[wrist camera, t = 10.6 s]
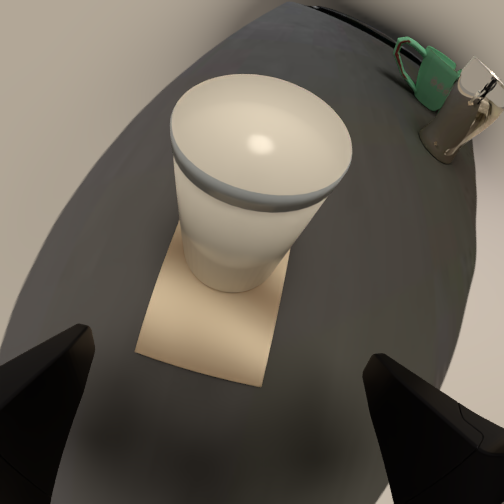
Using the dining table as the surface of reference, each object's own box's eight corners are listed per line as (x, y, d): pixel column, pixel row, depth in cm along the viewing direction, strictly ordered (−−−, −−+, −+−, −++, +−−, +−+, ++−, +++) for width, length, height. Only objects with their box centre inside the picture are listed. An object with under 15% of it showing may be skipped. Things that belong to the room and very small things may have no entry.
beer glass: (457, 174, 28) (523, 107, 14) (422, 153, 27) (489, 71, 14) (445, 141, 31) (499, 77, 17) (411, 121, 30) (464, 46, 17)
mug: (442, 105, 37) (467, 72, 28) (449, 130, 33) (480, 92, 24) (379, 64, 37) (400, 26, 28) (377, 81, 33) (403, 35, 24)
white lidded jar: (285, 291, 17) (376, 201, 8) (182, 294, 15) (158, 194, 6) (273, 205, 19) (326, 85, 10) (183, 204, 18) (180, 70, 9)
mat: (259, 386, 15) (262, 387, 14) (136, 352, 14) (133, 351, 14) (294, 215, 20) (298, 209, 19) (195, 187, 19) (195, 180, 19)
